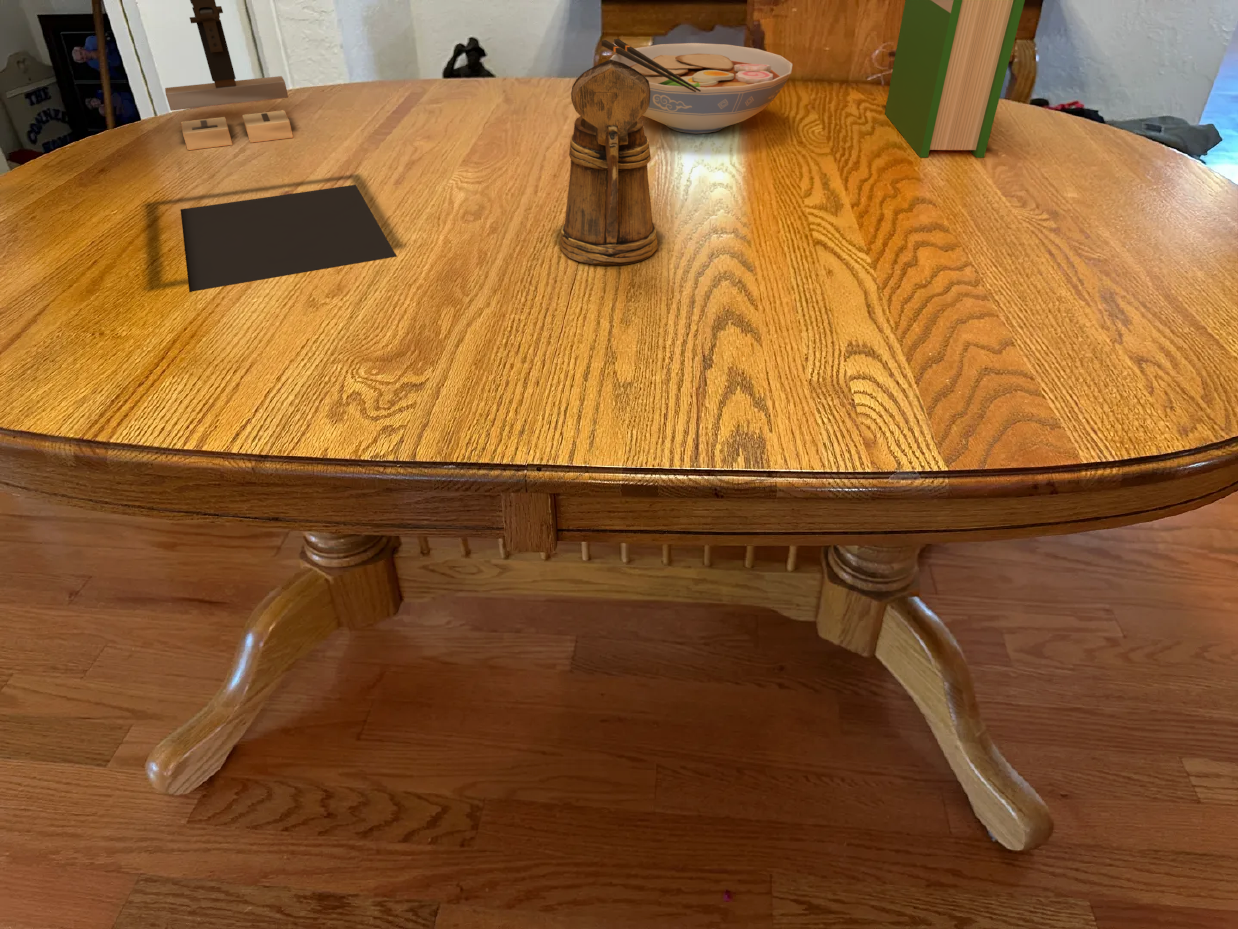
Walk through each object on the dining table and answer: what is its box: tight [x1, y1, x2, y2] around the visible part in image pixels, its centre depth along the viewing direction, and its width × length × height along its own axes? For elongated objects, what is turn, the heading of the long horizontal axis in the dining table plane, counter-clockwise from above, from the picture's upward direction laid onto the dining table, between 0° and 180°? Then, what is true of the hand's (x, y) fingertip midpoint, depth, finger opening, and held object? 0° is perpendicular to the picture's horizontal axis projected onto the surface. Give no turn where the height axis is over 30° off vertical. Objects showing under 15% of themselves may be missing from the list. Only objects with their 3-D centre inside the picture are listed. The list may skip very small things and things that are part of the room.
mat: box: [180, 184, 398, 293], centre depth 81 cm, size 20×20×1 cm
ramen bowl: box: [600, 38, 794, 135], centre depth 106 cm, size 25×23×8 cm
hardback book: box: [884, 0, 1026, 159], centre depth 98 cm, size 18×7×24 cm, turn 179°
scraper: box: [164, 75, 289, 112], centre depth 105 cm, size 3×14×12 cm, turn 114°
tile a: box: [180, 116, 233, 151], centre depth 103 cm, size 5×5×2 cm
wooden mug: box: [559, 58, 658, 267], centre depth 72 cm, size 9×14×18 cm, turn 2°
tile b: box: [242, 109, 294, 144], centre depth 105 cm, size 5×5×2 cm
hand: (223, 75), depth 107 cm, fingers closed on scraper, 2 cm apart
